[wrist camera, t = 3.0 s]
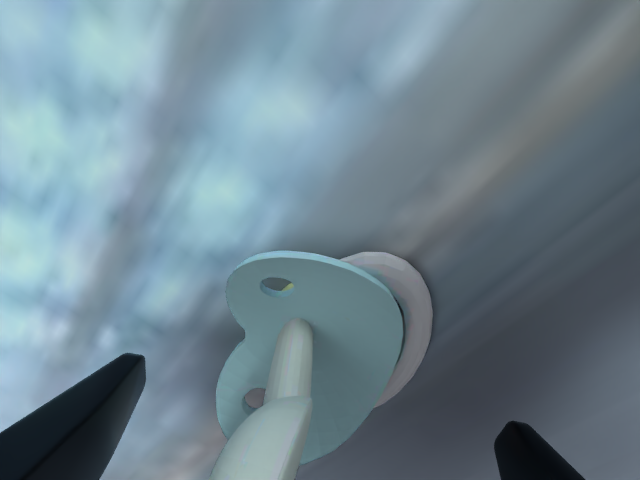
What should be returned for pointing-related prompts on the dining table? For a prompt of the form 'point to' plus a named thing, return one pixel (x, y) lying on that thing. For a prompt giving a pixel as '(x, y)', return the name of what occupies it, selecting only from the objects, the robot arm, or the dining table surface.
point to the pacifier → (315, 355)
